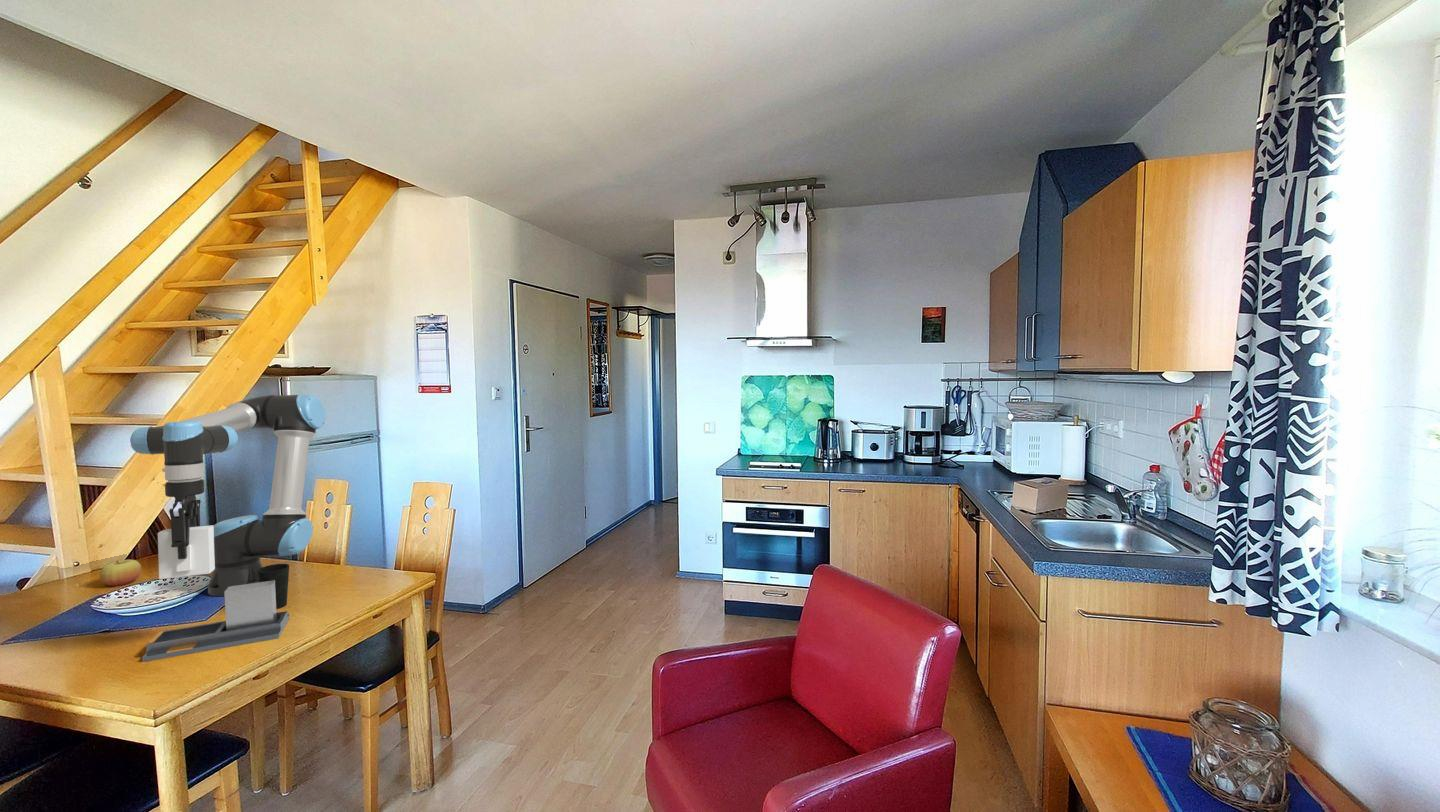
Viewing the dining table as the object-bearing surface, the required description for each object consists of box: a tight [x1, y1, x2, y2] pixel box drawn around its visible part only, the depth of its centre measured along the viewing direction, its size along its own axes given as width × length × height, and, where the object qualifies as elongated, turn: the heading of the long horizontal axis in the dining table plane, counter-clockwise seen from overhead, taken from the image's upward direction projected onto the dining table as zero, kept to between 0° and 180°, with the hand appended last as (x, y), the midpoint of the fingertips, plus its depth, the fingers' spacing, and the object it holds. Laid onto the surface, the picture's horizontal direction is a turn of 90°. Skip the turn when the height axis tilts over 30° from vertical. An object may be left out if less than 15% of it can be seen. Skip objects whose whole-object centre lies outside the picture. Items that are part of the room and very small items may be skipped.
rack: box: [141, 580, 290, 663], centre depth 152 cm, size 14×27×13 cm, turn 118°
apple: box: [99, 559, 142, 587], centre depth 191 cm, size 10×10×8 cm
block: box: [157, 524, 215, 580], centre depth 150 cm, size 4×10×12 cm, turn 117°
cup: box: [257, 563, 290, 610], centre depth 173 cm, size 8×8×12 cm
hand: (187, 567), depth 150 cm, fingers closed on block, 4 cm apart
